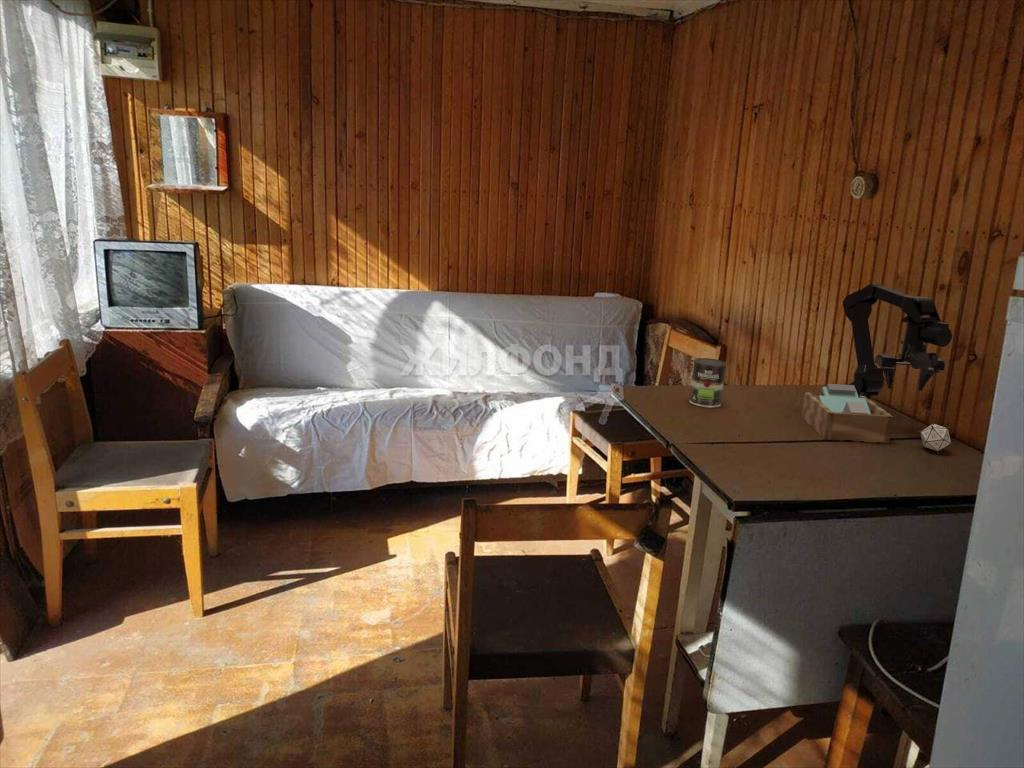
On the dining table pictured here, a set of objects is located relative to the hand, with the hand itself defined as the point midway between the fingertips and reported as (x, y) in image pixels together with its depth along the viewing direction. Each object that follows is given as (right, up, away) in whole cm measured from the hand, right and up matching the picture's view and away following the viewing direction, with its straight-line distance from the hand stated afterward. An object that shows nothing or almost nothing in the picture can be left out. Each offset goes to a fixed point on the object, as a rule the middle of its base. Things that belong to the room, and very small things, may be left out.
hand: (904, 389), depth 238 cm
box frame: (-19, -12, 0) cm, 22 cm away
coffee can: (-56, -5, +19) cm, 59 cm away
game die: (+1, -17, -15) cm, 23 cm away
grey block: (-19, -10, -6) cm, 22 cm away
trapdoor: (-19, -7, -1) cm, 20 cm away
